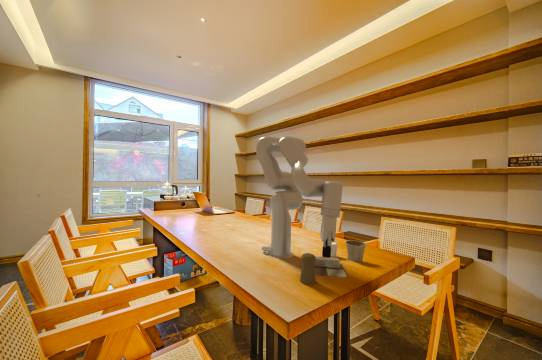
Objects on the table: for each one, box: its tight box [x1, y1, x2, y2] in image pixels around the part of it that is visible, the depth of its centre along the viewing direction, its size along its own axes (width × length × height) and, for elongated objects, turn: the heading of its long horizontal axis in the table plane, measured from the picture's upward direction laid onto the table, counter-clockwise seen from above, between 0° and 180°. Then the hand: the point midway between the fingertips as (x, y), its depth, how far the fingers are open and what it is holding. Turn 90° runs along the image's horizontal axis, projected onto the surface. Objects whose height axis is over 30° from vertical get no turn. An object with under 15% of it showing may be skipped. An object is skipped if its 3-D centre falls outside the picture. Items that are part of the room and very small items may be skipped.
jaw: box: [314, 257, 341, 268], centre depth 99 cm, size 15×3×4 cm, turn 82°
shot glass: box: [331, 241, 339, 258], centre depth 115 cm, size 7×7×7 cm
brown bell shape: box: [299, 252, 317, 286], centre depth 85 cm, size 6×6×11 cm
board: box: [314, 255, 349, 278], centre depth 97 cm, size 17×14×4 cm
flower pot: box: [344, 239, 367, 263], centre depth 110 cm, size 9×9×9 cm
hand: (326, 256), depth 95 cm, fingers closed
